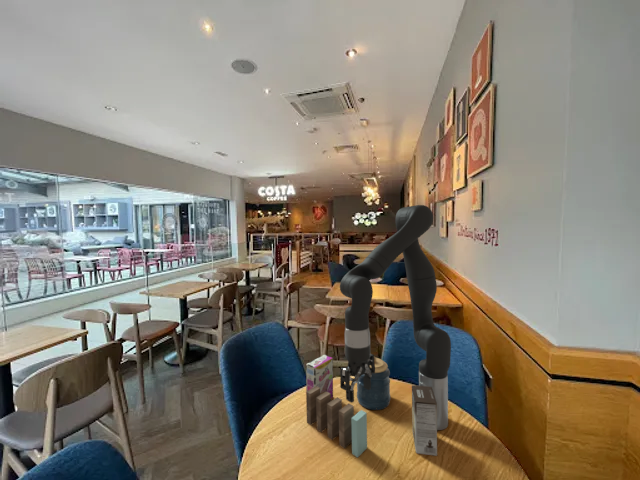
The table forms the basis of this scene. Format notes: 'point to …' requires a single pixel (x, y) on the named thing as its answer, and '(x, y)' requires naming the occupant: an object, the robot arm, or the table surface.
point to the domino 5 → (359, 433)
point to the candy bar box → (320, 374)
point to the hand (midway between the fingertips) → (359, 394)
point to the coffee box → (424, 420)
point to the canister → (375, 388)
